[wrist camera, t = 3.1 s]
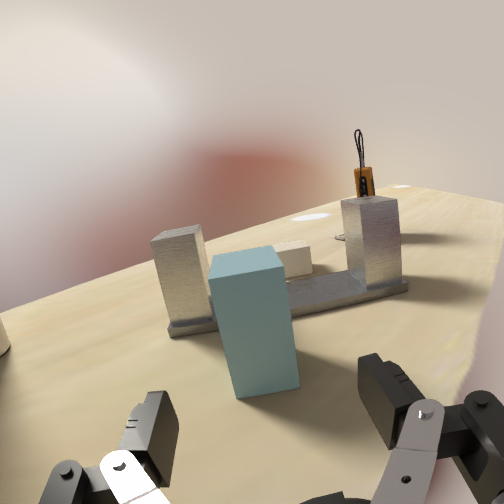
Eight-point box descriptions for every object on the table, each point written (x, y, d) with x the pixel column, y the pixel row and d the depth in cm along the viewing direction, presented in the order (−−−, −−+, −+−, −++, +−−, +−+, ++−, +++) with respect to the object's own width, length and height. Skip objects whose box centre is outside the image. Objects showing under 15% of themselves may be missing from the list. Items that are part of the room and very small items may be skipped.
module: (236, 399, 21) (207, 279, 19) (235, 354, 27) (213, 254, 25) (300, 387, 21) (283, 265, 19) (286, 345, 27) (271, 244, 25)
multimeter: (333, 233, 67) (320, 138, 62) (380, 230, 62) (367, 132, 58) (318, 252, 54) (300, 134, 50) (376, 249, 50) (360, 125, 45)
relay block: (277, 280, 44) (273, 252, 43) (273, 270, 49) (269, 245, 48) (312, 273, 44) (309, 246, 44) (304, 264, 49) (301, 239, 48)
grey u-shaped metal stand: (169, 337, 32) (144, 243, 29) (180, 308, 40) (162, 230, 37) (408, 290, 32) (403, 199, 30) (379, 270, 40) (372, 194, 38)
